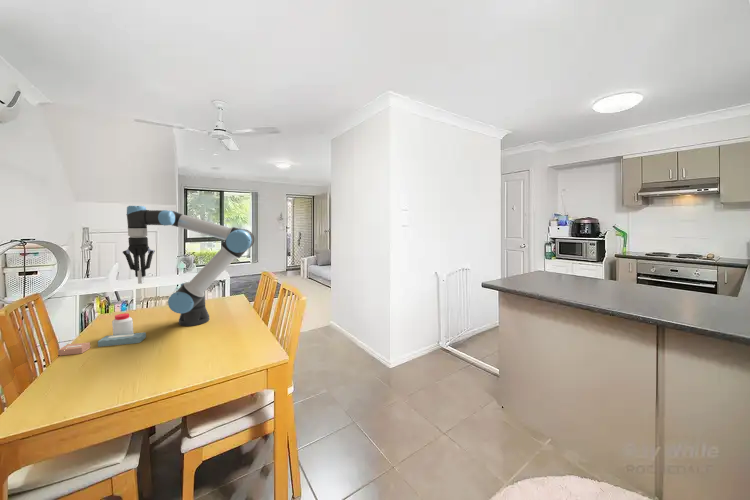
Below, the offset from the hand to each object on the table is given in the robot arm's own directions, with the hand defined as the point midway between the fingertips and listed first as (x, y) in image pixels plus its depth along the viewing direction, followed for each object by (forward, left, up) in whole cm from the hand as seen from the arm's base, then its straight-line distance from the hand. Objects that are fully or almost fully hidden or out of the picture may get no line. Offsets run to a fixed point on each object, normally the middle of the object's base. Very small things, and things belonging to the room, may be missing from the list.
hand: (141, 282), depth 149 cm
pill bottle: (+8, +2, -27) cm, 28 cm away
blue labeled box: (+5, +10, -26) cm, 29 cm away
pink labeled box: (+20, +17, -26) cm, 37 cm away
